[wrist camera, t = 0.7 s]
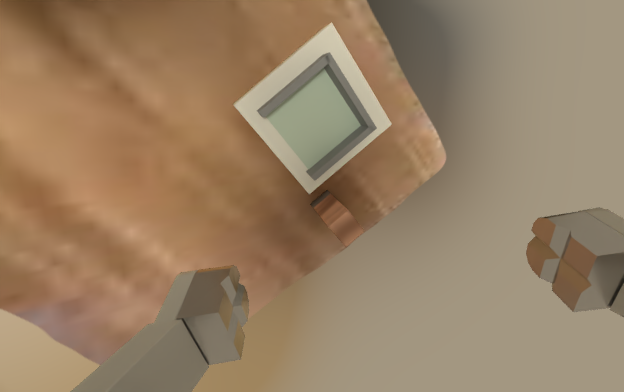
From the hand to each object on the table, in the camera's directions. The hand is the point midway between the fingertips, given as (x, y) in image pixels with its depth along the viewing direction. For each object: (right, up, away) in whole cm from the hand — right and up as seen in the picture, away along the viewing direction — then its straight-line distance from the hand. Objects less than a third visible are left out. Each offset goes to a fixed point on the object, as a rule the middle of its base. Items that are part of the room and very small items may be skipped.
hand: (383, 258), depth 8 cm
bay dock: (-2, +15, +41) cm, 44 cm away
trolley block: (+1, 0, +47) cm, 47 cm away
